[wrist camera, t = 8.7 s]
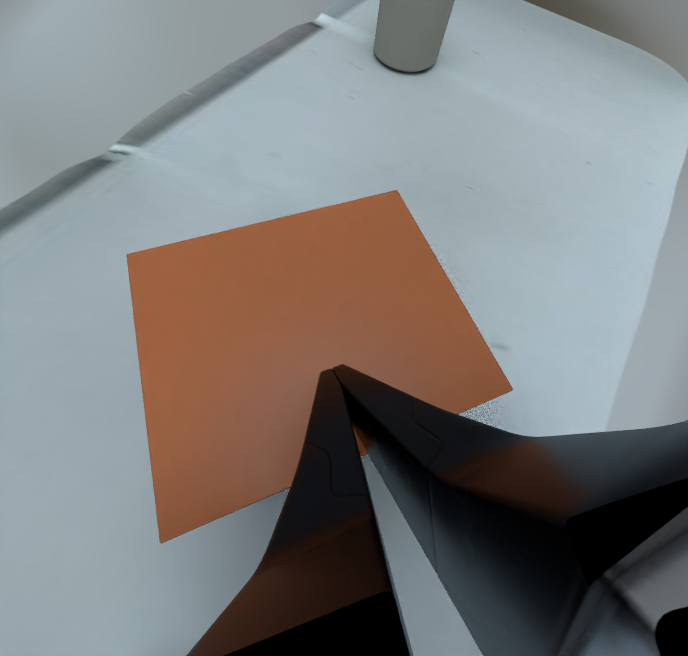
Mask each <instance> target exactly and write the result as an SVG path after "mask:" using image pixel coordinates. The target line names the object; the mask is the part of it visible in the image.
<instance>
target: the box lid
mask: <svg viewBox="0 0 688 656" xmlns="http://www.w3.org/2000/svg"><path fill="white" fill-rule="evenodd" d="M127 264H128V272H129V281H130V289H131V298H132V307H133V315H134V324H135V332H136V341H137V349H138V358H139V367H140V375H141V384H142V392H143V401H144V410H145V418H146V427H147V435H148V444H149V452H150V461H151V470H152V478H153V487H154V495H155V504H156V513H157V521H158V530H159V538H160V543H163V542H166V541H168V540H170V539H173V538H175V537H177V536H180V535H182V534H184V533H186V532H189V531H191V530H193V529H196V528H198V527H200V526H202V525H205V524H207V523H209V522H212V521H214V520H216V519H219V518H221V517H223V516H225V515H228V514H230V513H232V512H235V511H237V510H239V509H241V508H244V507H246V506H248V505H251V504H253V503H255V502H258V501H260V500H262V499H264V498H267V497H269V496H271V495H274V494H276V493H278V492H281V491H283V490H285V489H287V488H290V487H291V484H292V481H293V478H294V475H295V472H296V469H297V466H298V462H299V459H300V455H301V451H302V447H303V443H304V439H305V435H306V430H307V426H308V422H309V418H310V414H311V409H312V405H313V401H314V397H315V392H316V388H317V384H318V380H319V376H320V372H321V371H324V370H327V369H330V368H331V369H332V368H333V367H335V366H338V365H341V364H344V365H346V366H349V367H351V368H353V369H355V370H357V371H359V372H362V373H364V374H366V375H368V376H370V377H372V378H375V379H377V380H379V381H381V382H383V383H385V384H388V385H390V386H392V387H394V388H396V389H399V390H401V391H403V392H405V393H407V394H409V395H412V396H413V397H416V398H418V399H420V400H423V401H425V402H427V403H429V404H432V405H434V406H436V407H439V408H441V409H444V410H447V411H449V412H452V413H455V414H459V413H462V412H464V411H466V410H469V409H471V408H473V407H476V406H478V405H480V404H482V403H485V402H487V401H489V400H492V399H494V398H496V397H498V396H501V395H503V394H505V393H508V392H510V391H512V390H513V389H512V387H511V385H510V383H509V382H508V380H507V378H506V376H505V375H504V373H503V371H502V370H501V368H500V366H499V364H498V363H497V361H496V359H495V358H494V356H493V354H492V352H491V351H490V349H489V347H488V346H487V344H486V342H485V340H484V339H483V337H482V335H481V333H480V332H479V330H478V328H477V327H476V325H475V323H474V321H473V320H472V318H471V316H470V315H469V313H468V311H467V309H466V308H465V306H464V304H463V303H462V301H461V299H460V297H459V296H458V294H457V292H456V291H455V289H454V287H453V285H452V284H451V282H450V280H449V278H448V277H447V275H446V273H445V272H444V270H443V268H442V266H441V265H440V263H439V261H438V260H437V258H436V256H435V254H434V253H433V251H432V249H431V248H430V246H429V244H428V242H427V241H426V239H425V237H424V236H423V234H422V232H421V230H420V229H419V227H418V225H417V223H416V222H415V220H414V218H413V217H412V215H411V213H410V211H409V210H408V208H407V206H406V205H405V203H404V201H403V199H402V198H401V196H400V194H399V193H398V191H397V190H395V191H391V192H387V193H383V194H378V195H374V196H370V197H366V198H362V199H357V200H353V201H349V202H345V203H341V204H336V205H332V206H328V207H324V208H320V209H315V210H311V211H307V212H303V213H299V214H294V215H290V216H286V217H282V218H277V219H273V220H269V221H265V222H261V223H256V224H252V225H248V226H244V227H240V228H235V229H231V230H227V231H223V232H219V233H214V234H210V235H206V236H202V237H198V238H193V239H189V240H185V241H181V242H177V243H172V244H168V245H164V246H160V247H156V248H151V249H147V250H143V251H139V252H134V253H130V254H127ZM353 429H354V428H353ZM354 433H355V436H356V440H357V444H358V448H359V452H360V455H361V456H363V455H365V454H368V453H367V451H366V449H365V447H364V446H363V444H362V442H361V440H360V439H359V437H358V435H357V433H356V431H355V429H354Z"/></svg>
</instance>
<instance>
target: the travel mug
mask: <svg viewBox="0 0 688 656" xmlns="http://www.w3.org/2000/svg"><path fill="white" fill-rule="evenodd" d="M454 1H455V0H380V4H379V12H378V19H377V27H376V35H375V43H374V52H375V54H376V56H377V57H378V58H379V59H380V60H381V61H382V62H383V63H384V64H386V65H387V66H389V67H391V68H392V69H395V70H399V71H403V72H418V71H421V70H425V69H427V68H430V67H431V66H433V65H434V64H435V62H436V60H437V56H438V53H439V50H440V47H441V43H442V40H443V37H444V34H445V30H446V27H447V24H448V20H449V17H450V14H451V11H452V7H453V4H454Z"/></svg>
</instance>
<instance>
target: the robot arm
mask: <svg viewBox="0 0 688 656" xmlns="http://www.w3.org/2000/svg"><path fill="white" fill-rule="evenodd" d="M353 428H354V429H355V431H356V433H357V435H358V437H359V439H360V440H361V442H362V444H363V446H364V447H365V449H366V451H367V453H368V454H369V456H370V458H371V460H372V461H373V463H374V465H375V467H376V468H377V470H378V472H379V474H380V475H381V477H382V479H383V481H384V482H385V484H386V486H387V488H388V489H389V491H390V493H391V495H392V496H393V498H394V500H395V502H396V503H397V505H398V507H399V509H400V510H401V512H402V514H403V516H404V517H405V519H406V521H407V523H408V524H409V526H410V528H411V530H412V531H413V533H414V535H415V537H416V538H417V540H418V542H419V544H420V546H421V547H422V549H423V551H424V553H425V554H426V556H427V558H428V560H429V561H430V563H431V565H432V567H433V568H434V570H435V572H436V573H437V574H438V577H439V579H440V581H441V582H442V584H443V586H444V588H445V589H446V591H447V593H448V595H449V597H450V598H451V600H452V602H453V604H454V605H455V607H456V609H457V611H458V612H459V614H460V616H461V618H462V619H463V621H464V623H465V625H466V626H467V628H468V630H469V632H470V633H471V635H472V637H473V639H474V640H475V642H476V644H477V646H478V647H479V649H480V651H481V653H482V654H483V656H688V420H686V421H684V422H680V423H676V424H672V425H666V426H661V427H654V428H646V429H637V430H624V431H611V432H598V433H585V434H572V435H560V436H547V437H529V436H522V435H518V434H513V433H510V432H507V431H503V430H501V429H498V428H495V427H492V426H489V425H486V424H483V423H480V422H477V421H475V420H472V419H469V418H466V417H463V416H460V415H457V414H455V413H452V412H449V411H447V410H444V409H441V408H439V407H436V406H434V405H432V404H429V403H427V402H425V401H423V400H420V399H418V398H416V397H413V396H412V395H409V394H407V393H405V392H403V391H401V390H399V389H396V388H394V387H392V386H390V385H388V384H385V383H383V382H381V381H379V380H377V379H375V378H372V377H370V376H368V375H366V374H364V373H362V372H359V371H357V370H355V369H353V368H351V367H349V366H346V365H344V364H341V365H338V366H335V367H333V368H332V369H331V368H330V369H327V370H324V371H321V372H320V376H319V380H318V384H317V388H316V392H315V397H314V401H313V405H312V409H311V414H310V418H309V422H308V426H307V430H306V435H305V439H304V443H303V447H302V451H301V455H300V459H299V462H298V466H297V469H296V472H295V475H294V478H293V481H292V484H291V487H290V490H289V492H288V495H287V498H286V500H285V503H284V506H283V508H282V511H281V513H280V516H279V519H278V521H277V524H276V527H275V529H274V532H273V535H272V537H271V540H270V543H269V545H268V548H267V550H266V552H265V554H264V556H263V558H262V561H261V562H260V564H259V566H258V568H257V570H256V571H255V573H254V574H253V576H252V577H251V579H250V580H249V581H248V582H247V584H246V585H245V586H244V587H243V588H242V590H241V591H240V592H239V593H238V594H237V596H236V597H235V598H234V599H233V600H232V602H231V603H230V604H229V605H228V606H227V608H226V609H225V610H224V611H223V612H222V614H221V615H220V616H219V617H218V618H217V620H216V621H215V622H214V623H213V624H212V626H211V627H210V628H209V629H208V630H207V632H206V633H205V634H204V635H203V636H202V638H201V639H200V640H199V641H198V642H197V644H196V645H195V646H194V647H193V648H192V650H191V651H190V652H189V653H188V654H187V656H413V653H412V649H411V645H410V641H409V638H408V634H407V630H406V626H405V622H404V619H403V615H402V611H401V607H400V603H399V600H398V596H397V592H396V588H395V584H394V581H393V577H392V573H391V569H390V565H389V562H388V558H387V554H386V550H385V546H384V543H383V539H382V535H381V531H380V527H379V524H378V520H377V516H376V512H375V509H374V505H373V501H372V497H371V493H370V490H369V486H368V482H367V478H366V474H365V471H364V467H363V463H362V459H361V455H360V452H359V448H358V444H357V440H356V436H355V433H354V429H353Z"/></svg>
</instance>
